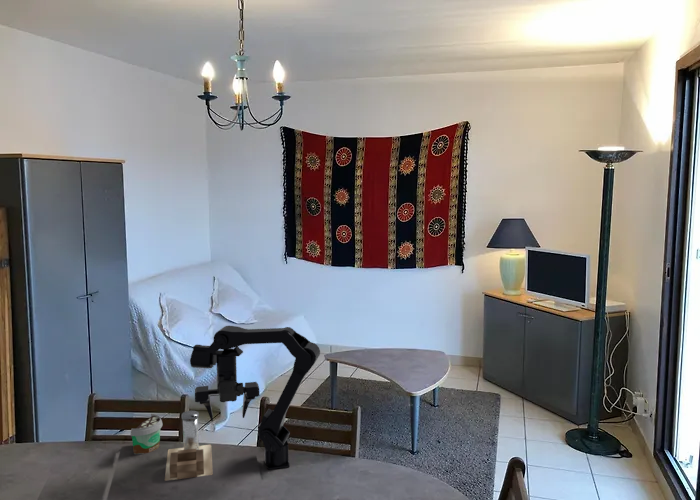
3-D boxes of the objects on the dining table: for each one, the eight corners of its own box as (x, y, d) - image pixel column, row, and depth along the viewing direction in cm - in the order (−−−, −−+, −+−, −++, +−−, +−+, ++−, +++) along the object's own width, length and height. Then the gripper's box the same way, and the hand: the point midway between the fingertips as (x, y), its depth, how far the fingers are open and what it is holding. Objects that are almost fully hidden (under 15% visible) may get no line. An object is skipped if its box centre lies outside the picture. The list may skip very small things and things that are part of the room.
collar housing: (211, 449, 179) (210, 432, 178) (212, 479, 161) (212, 461, 160) (168, 454, 176) (167, 437, 175) (164, 485, 157) (164, 467, 157)
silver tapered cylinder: (199, 450, 175) (198, 409, 173) (200, 457, 170) (198, 416, 169) (183, 452, 174) (181, 411, 172) (182, 459, 169) (181, 418, 167)
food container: (150, 462, 170) (148, 431, 169) (131, 460, 171) (130, 429, 170) (170, 444, 182) (169, 414, 181) (153, 442, 183) (152, 412, 182)
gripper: (194, 380, 158) (195, 433, 160) (261, 375, 163) (261, 426, 165) (194, 368, 169) (195, 418, 171) (257, 363, 174) (257, 411, 176)
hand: (227, 419), depth 170 cm, fingers open, 9 cm apart
